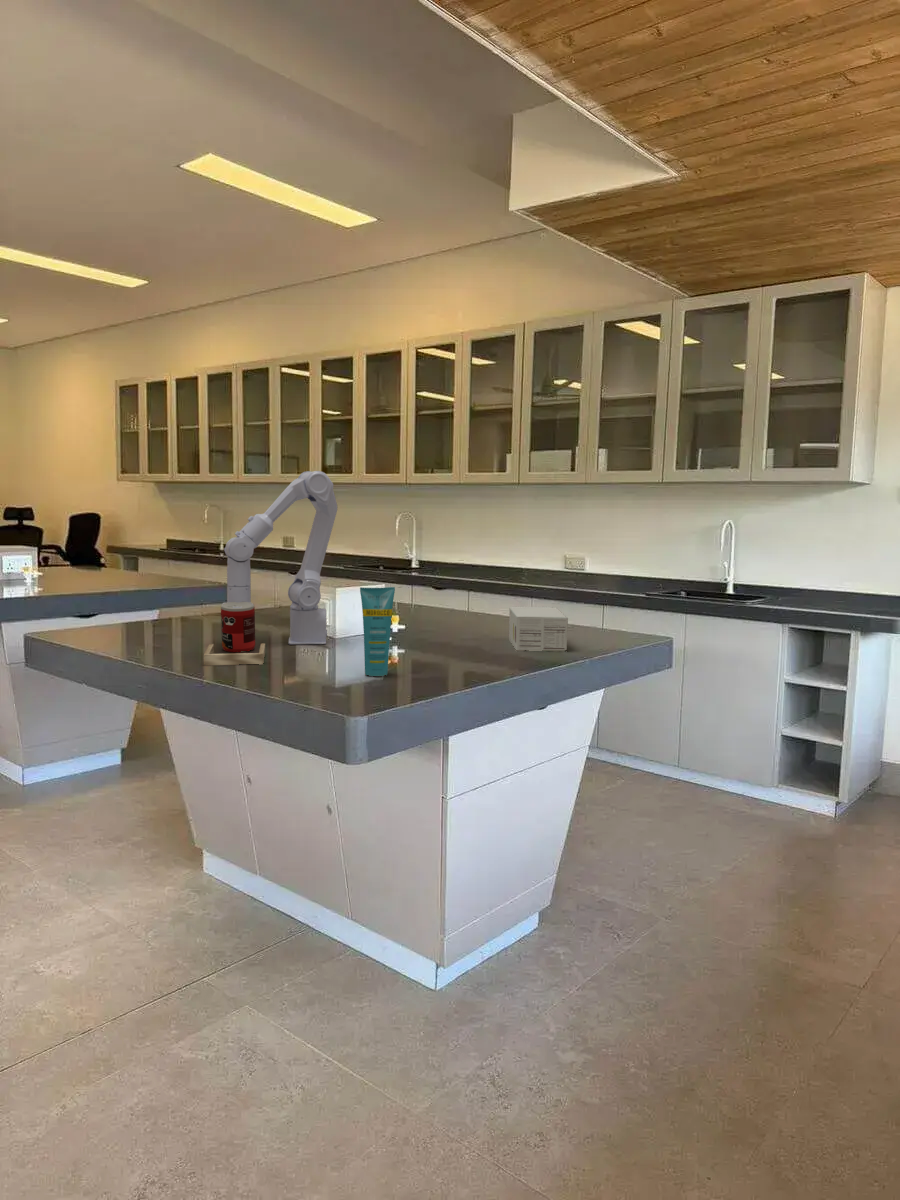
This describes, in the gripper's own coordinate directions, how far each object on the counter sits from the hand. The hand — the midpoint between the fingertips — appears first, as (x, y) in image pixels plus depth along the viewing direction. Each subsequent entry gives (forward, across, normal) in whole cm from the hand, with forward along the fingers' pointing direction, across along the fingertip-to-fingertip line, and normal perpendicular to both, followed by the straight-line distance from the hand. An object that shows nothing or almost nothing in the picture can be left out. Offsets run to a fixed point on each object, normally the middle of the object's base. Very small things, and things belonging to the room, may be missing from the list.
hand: (239, 639), depth 214 cm
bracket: (+2, +16, 0) cm, 16 cm away
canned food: (+2, +5, 0) cm, 5 cm away
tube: (+2, +36, +31) cm, 48 cm away
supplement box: (+2, +4, +76) cm, 76 cm away
